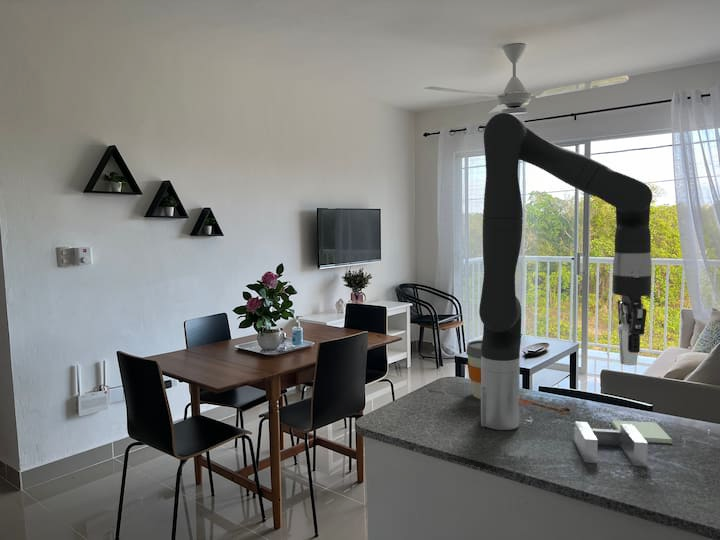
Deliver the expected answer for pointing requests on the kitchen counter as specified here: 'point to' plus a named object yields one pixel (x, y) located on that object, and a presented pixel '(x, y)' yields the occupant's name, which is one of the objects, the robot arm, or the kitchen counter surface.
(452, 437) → the kitchen counter surface
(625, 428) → the grey u-shaped bracket
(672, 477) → the kitchen counter surface
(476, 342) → the reusable coffee cup
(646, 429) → the mat
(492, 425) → the robot arm
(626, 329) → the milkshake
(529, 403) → the key
